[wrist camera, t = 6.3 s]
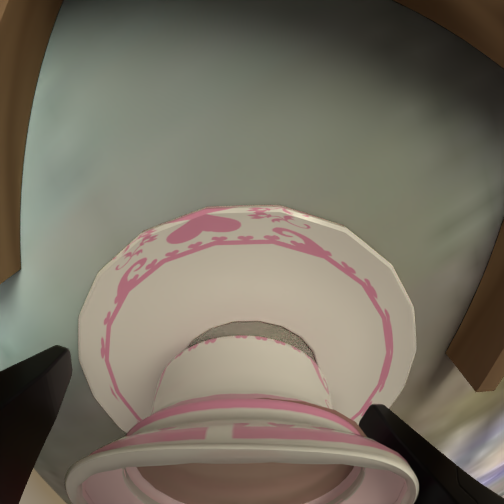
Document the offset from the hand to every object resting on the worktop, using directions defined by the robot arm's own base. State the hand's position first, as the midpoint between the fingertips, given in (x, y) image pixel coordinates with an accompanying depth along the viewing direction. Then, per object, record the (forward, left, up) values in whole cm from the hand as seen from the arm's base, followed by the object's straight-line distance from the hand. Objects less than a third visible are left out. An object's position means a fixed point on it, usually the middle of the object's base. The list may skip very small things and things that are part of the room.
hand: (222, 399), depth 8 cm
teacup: (-1, +1, -2) cm, 3 cm away
